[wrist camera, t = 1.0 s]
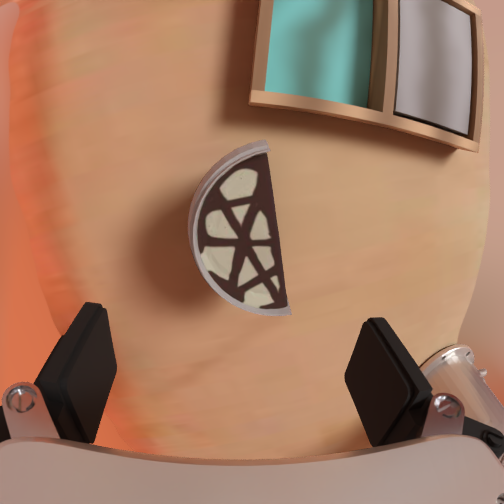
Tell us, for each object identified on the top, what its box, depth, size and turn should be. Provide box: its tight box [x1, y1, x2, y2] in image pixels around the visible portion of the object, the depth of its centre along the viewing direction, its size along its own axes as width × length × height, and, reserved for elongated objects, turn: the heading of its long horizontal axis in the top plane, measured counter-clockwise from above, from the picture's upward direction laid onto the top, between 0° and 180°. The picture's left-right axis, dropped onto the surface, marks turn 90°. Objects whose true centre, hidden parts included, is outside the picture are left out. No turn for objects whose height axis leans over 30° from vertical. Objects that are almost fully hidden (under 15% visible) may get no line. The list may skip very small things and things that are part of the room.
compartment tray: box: [248, 0, 484, 153], centre depth 21 cm, size 23×17×4 cm
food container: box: [188, 140, 292, 316], centre depth 24 cm, size 12×6×10 cm, turn 9°
